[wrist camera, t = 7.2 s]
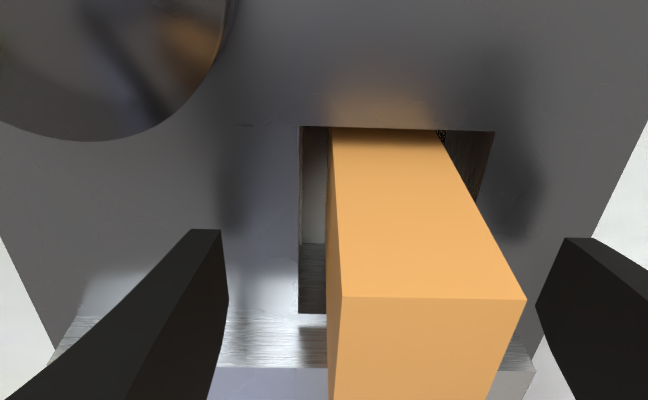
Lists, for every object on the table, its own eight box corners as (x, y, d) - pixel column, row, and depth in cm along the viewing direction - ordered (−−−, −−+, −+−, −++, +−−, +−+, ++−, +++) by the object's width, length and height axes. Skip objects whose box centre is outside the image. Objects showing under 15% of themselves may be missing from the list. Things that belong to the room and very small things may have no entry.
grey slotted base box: (480, 332, 17) (527, 453, 13) (116, 326, 16) (55, 448, 13) (689, -247, 8) (1027, -395, 4) (-96, -291, 7) (-514, -500, 4)
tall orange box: (402, 225, 14) (463, 451, 8) (324, 223, 14) (329, 450, 8) (422, 106, 12) (527, 299, 6) (330, 104, 12) (342, 296, 6)
